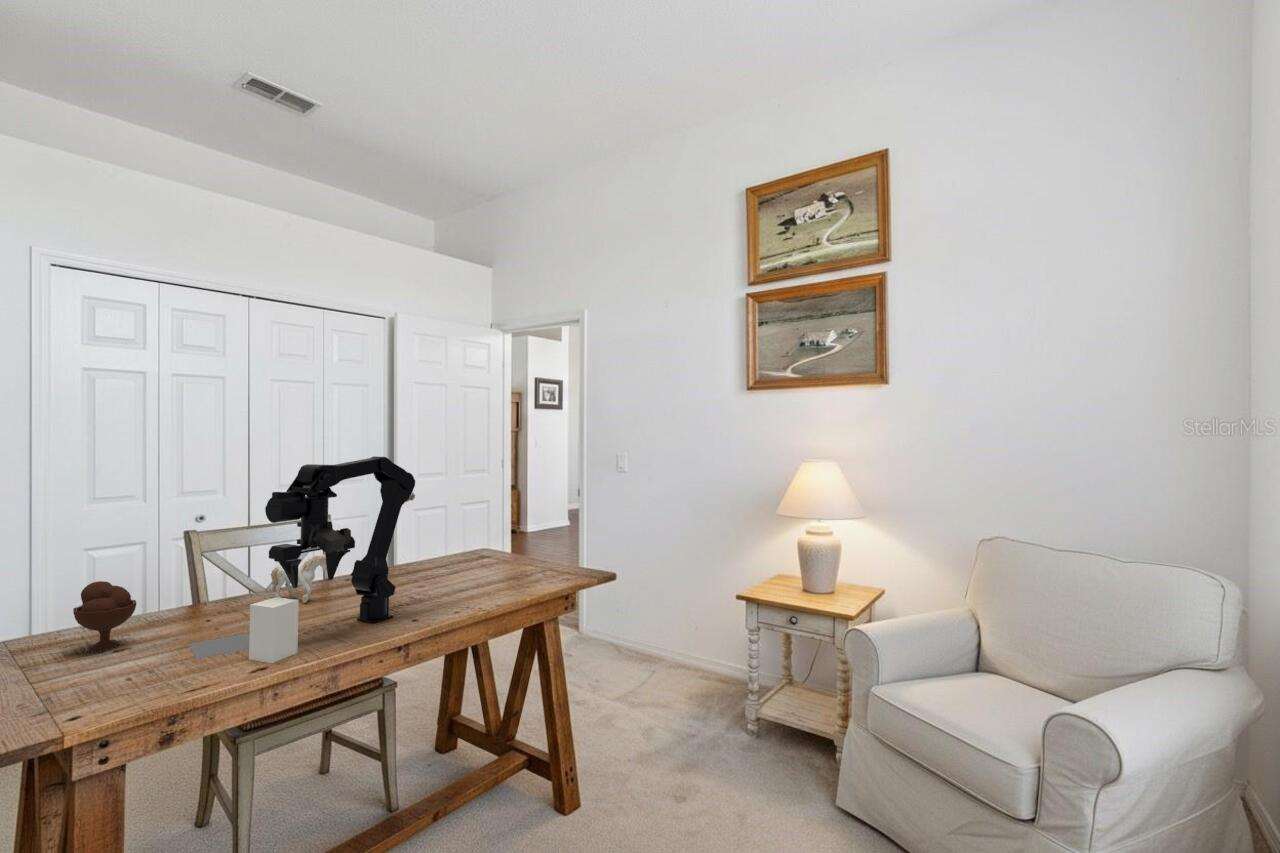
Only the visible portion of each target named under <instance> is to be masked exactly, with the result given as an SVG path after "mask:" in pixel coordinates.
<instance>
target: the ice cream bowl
mask: <svg viewBox="0 0 1280 853" xmlns="http://www.w3.org/2000/svg"><path fill="white" fill-rule="evenodd" d="M80 600H81V603H82V605H79V606H76V607H73V611H72V612H73V615H74V619H75V621H76V622H77V624H79V625H80V626H81V627H83V628H85V629H88V630H91V631H97V632H98V634H99V641H97V642H95V643H94V644H92V645H91V646H89V647H88V652H89V651H93V652H92V653H94V652H96V653H104V652H103V651H105V652H106V650H110V649H114V648H116V647H118V646H120V642H118V641H116V640H112V639H111V637H110V636H111V631H112V629H114V628H117V627H119V626H120V625H122V624H124V623H126V621H128V620H129V619H130V618H131V617H133V614H134V612H135V611H136V607H137V604H138V603H137V601H136V599H132V596H131V594H130V592H129V591H128V590H127V589H126V588H125V587H123V586H119V585H113V584H112V583H110V582H108V581H101V580H100V581H98V580H97V581H94V582H90V583H88V584H87V585H86V586H84V588H83V589H82V590H81V593H80ZM100 651H101V652H100Z"/></svg>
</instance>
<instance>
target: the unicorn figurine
mask: <svg viewBox="0 0 1280 853" xmlns="http://www.w3.org/2000/svg"><path fill="white" fill-rule="evenodd" d="M319 566H320V567H321V568H322V571H324V572H327V566H326V556H325V553H324V554H319V555H314V556H312V557H311V558H309V559H307V561H304V563H303V565H302V566H301V567H298V585H302V586H303V587H304V588H305V591H304V592H303V594H302V597H301V603H302V604H306V603H307V602H308V601H309V602H310V601H312V600H313V599H312V597H311V596H310V595H311V592H312V589H311V585H312V583H313V581H314V579H315V577H316V574H315V571H316V569H317V568H318V567H319ZM270 576H271V581H272V582H271V583H270V584H271V585H272V588H271V590H269V593H272V594H273V593H275V594H274V598H275V597H278V598H283V597H282V596H281V594H280V590H282V587H283V585H284V586H285V587H286V588H287V589H288V594H289V599H292V598H294V599H295V597H296V591H295V590H294V588H293V587H292V585H291V583H290V581H289V579H288V577H287V575H286V573H285V571H284V569H283V568H282V567H280V566H279V565H278V566H275V567H274V569H272V570H271V573H270Z"/></svg>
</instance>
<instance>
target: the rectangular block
mask: <svg viewBox="0 0 1280 853" xmlns="http://www.w3.org/2000/svg"><path fill="white" fill-rule="evenodd" d="M249 633H250V634H249V649H248V660H250V661H251V660H252V661H256V662H263V663H268V664H274V663H276V662H279V661H281V660H284V659H286V658H289V657H291V656H294V655H297V654H298V648H299V647H298V644H299V643H298V641H299V639H298V637H299V636H298V635H299V599H295V598H294V599H292V598H284V597H282V598H278V597H275V596H274V597H272V598H268V599H265V600H261V601H259V602H255V603H251V604H250V605H249Z"/></svg>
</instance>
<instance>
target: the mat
mask: <svg viewBox="0 0 1280 853" xmlns="http://www.w3.org/2000/svg"><path fill="white" fill-rule="evenodd" d="M249 634H250V632H248V633H242V634H236V635H233V636H232V635H231V636H226V637H221V638H215V639H208V640H203V641H199V642H193V643H188V644H187V645H188V647H189V648H190V651H191V653H192V654H193V656H194V657H195V659H196V660H199V659H204V658H209V657H213V656H219V655H224V654H231V653H234V652H235V653H236V652H240V651H245V650H249Z"/></svg>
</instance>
